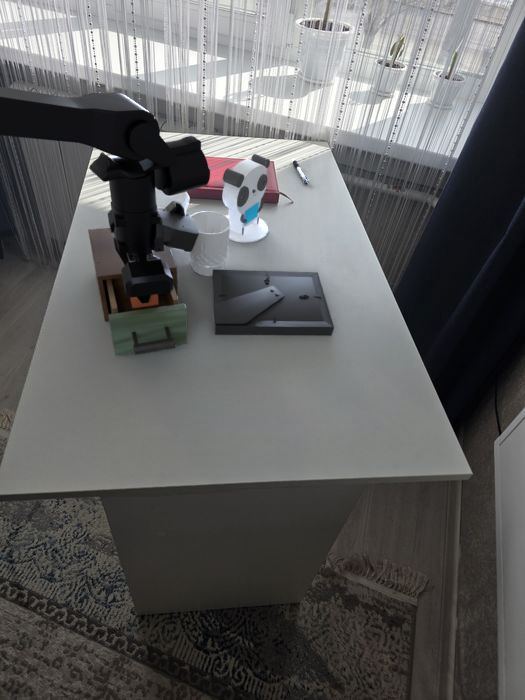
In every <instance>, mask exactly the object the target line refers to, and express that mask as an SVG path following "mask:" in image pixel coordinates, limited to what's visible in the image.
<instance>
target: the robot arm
mask: <svg viewBox="0 0 525 700" xmlns="http://www.w3.org/2000/svg"><path fill="white" fill-rule="evenodd" d="M0 136H3V137H13V138H24V139H25V138H26V139H35V140H44V141H54V142H65V143H76V144H81V145H85V146H88V147H91V148H94V149H96V150H98V151H101V152H100V154H99V156H98V157H97V158H96V159H94V160H93V161H92V163H91V164H90V165H89V167H88V168H89V170H90V171H91V172H92V173H93V174H94V175H95V176H96V177H97V178H98V179H100V180H101V181H102V182H104V183H106V182H108V184H109V192H110V193H109V194H110V200H111V201H110V210H109V211H108V212H107V219H108V226H109V228H110V230H111V233H115V238H114V239H113V241H114V245H115V249H116V251H117V253H118V254H119V256H120V258H121V260H122V261H123V263H124V265H125V266H124V267H123V268H122V269H121V274H122V278H123V283H124V287H125V291H126V295H127V296H129V297H131V298H132V297H137V298H138V299H139V301H140V302H141V303H142V304H143V303H148V302H149V300H150V296H151V295H155V294H162V293H170V292H171V291H172V290H173V278H172V275H171V272H170V269H169V267H168V264H167V263H166V262H164V261H163V260H161V259H160V258H159V257H155V256H154V254H153V251H152V250H155V252H160V251H164V245H165V246H168V247H170V248H173V249H178V250H182V251H184V252H186V253H190V252H191V251H192V250H193V247H194V245H195V242H196V240H197V237H198V235H199V230H198V228H197V226H196V224H195V221H194V220H193V219H192V218H190V216H191V215H190V214H188V213H186V215H185V212H184V208H183V205H182V203H180V202H177V201H172V202H171V203H170V204H169V205H168V206H167V207H165V208H164V209H163V211H159V210H157V204H156V191H155V187H156V188H157V189H158V190H161V191H162V192H163V193H164V194H165V195H167V196H172V195H176V194H179V193H183V192H187V193H188V192H190V191H193V190H199V189H201V188H205V187H206V186H207V185H208V184H209V182H210V179H211V169H210V168H209V163H208V160H207V158H206V154H205V153H204V151H203V150H202V141H201V140H200V139H198V138H197V137H196V136H194V135H193V134H192V135H187V136H184V137H182V138H178V139H175V140H170V141H165V140H164V138H163V137H162V136H161V128H160V125H159V122H158V119H157V118H156V116H155V114H153V113H152V112H151V111H149V110H147V109H146V108H145V107H143V106H141V105H140V104H139V103H137V102H136V101H134V100H133V99H131V98H130V97H128V96H127V95H125V94H123V93H121V92H91V93H87V94H84V95H81V96H74V97H73V96H69V97H68V96H62V95H54V94H49V93H43V92H36V91H30V90H23V89H18V88H11V87H5V86H0ZM108 154H109V155H111V156H109V155H108ZM147 259H148V260H147Z"/></svg>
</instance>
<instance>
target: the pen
mask: <svg viewBox="0 0 525 700" xmlns="http://www.w3.org/2000/svg"><path fill="white" fill-rule="evenodd" d="M292 164H293V166H294V168H295V169H296V171H297V173H298V174H299V176H300V178H301V179H302V182H303V183H304V184H305V185H308V184H309V177H308V176H307V175H305V173H304V172H303V171H302V168H301V166H300V165H299V163H298V161H297V160H296V159H295V158H293V159H292Z"/></svg>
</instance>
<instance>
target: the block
mask: <svg viewBox="0 0 525 700" xmlns="http://www.w3.org/2000/svg"><path fill="white" fill-rule="evenodd" d="M130 300H131V304H132V308H139V307H146V306H153V305H158V294H155V295H151V296H150V300H149V302H148V303H143V304H142V303H141V302H140V301H139V299H138V298H137V297H132V298H131V297H130Z"/></svg>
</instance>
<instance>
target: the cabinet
mask: <svg viewBox="0 0 525 700" xmlns="http://www.w3.org/2000/svg"><path fill="white" fill-rule="evenodd" d="M87 232H88V238H89V243H90V248H91V255H92V261H93V264H94V272H95V277H96V281H97V286H98V292H99V293H98V294H99V297H100V302H101V303H100V304H101V309H102V313H103V320H104V323H107V322H109V317H108V314H112V313H111V308H110V303H109V297H108V291H107V285H106V280H107V279H115V278H122V274H121V269H122V268H123V267H124V266H125V265H124V263H123V261H122V260H121V258H120V256H119V254H118V253H117V251H116V249H115V245H114V241H113V239H114V238H115V233H111V230H110V227H102V228H101V227H100V228H90V229H89V228H88V230H87ZM152 251H153V254H154V256H155V257H159V258H160V259H161V260H163V261H164V262H166V263H167V264H168V267H169V269H170V272H171V275H172V278H173V286H174V289H175V292H176V294H177V297H178V298H179V292H178V267H177V264H176V261H175V258H174V256H173V253H172V250H171V247H168V246H165V245H164V251H160V252H155V250H152ZM147 260H148V259H147Z"/></svg>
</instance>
